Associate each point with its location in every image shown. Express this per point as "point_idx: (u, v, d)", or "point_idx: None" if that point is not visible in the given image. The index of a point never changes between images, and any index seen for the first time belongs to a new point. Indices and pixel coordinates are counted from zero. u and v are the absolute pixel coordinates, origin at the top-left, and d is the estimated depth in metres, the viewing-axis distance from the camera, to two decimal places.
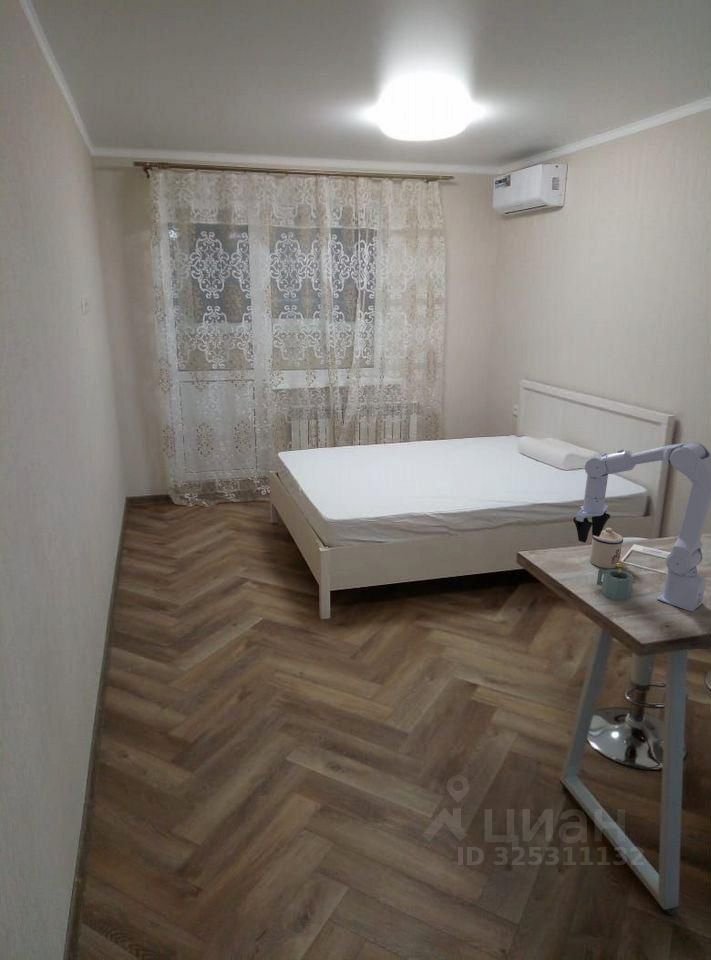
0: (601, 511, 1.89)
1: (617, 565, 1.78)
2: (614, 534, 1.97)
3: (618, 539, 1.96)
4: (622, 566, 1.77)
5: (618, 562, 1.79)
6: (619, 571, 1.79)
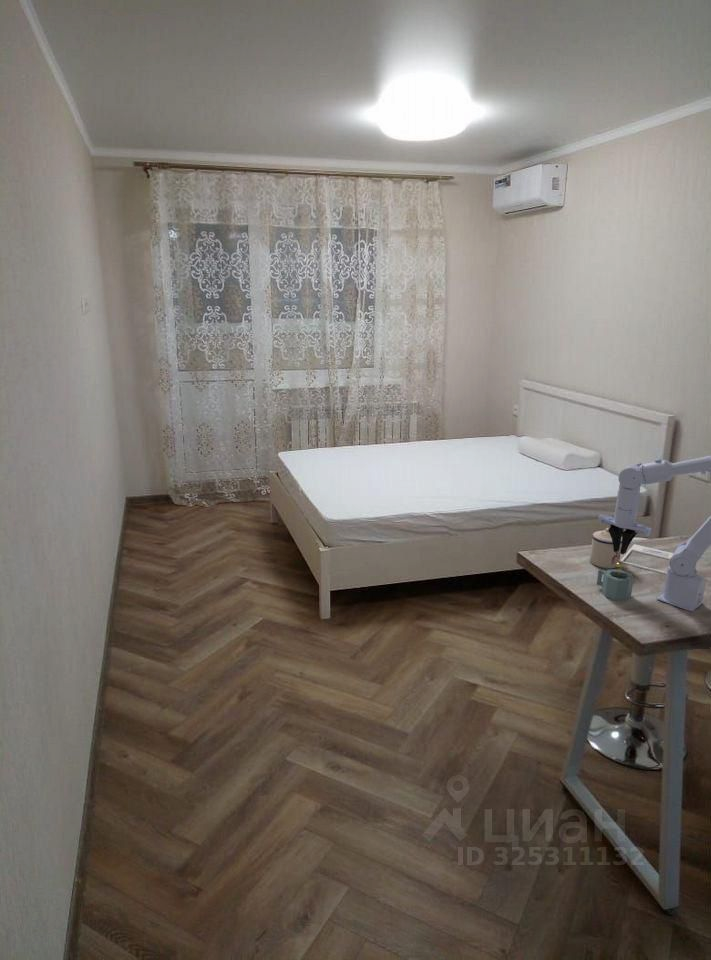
0: (619, 522, 1.79)
1: (617, 565, 1.78)
2: None
3: None
4: (622, 566, 1.77)
5: (618, 562, 1.79)
6: (619, 571, 1.79)
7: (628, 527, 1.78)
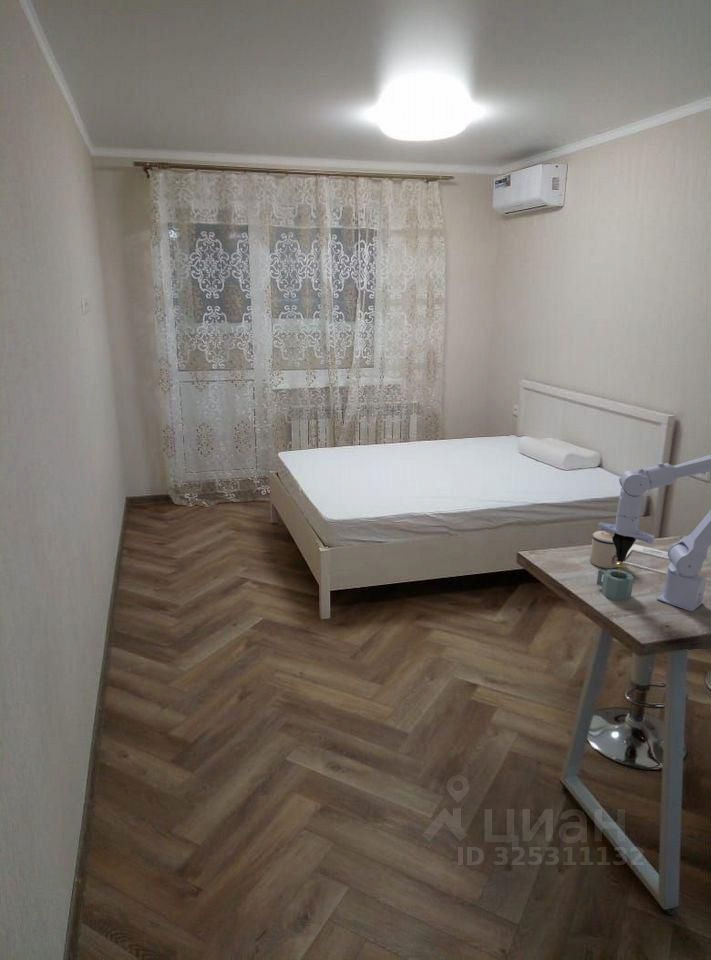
0: (621, 530, 1.73)
1: (617, 565, 1.78)
2: None
3: None
4: (622, 566, 1.77)
5: (618, 562, 1.79)
6: (619, 571, 1.79)
7: (631, 535, 1.72)
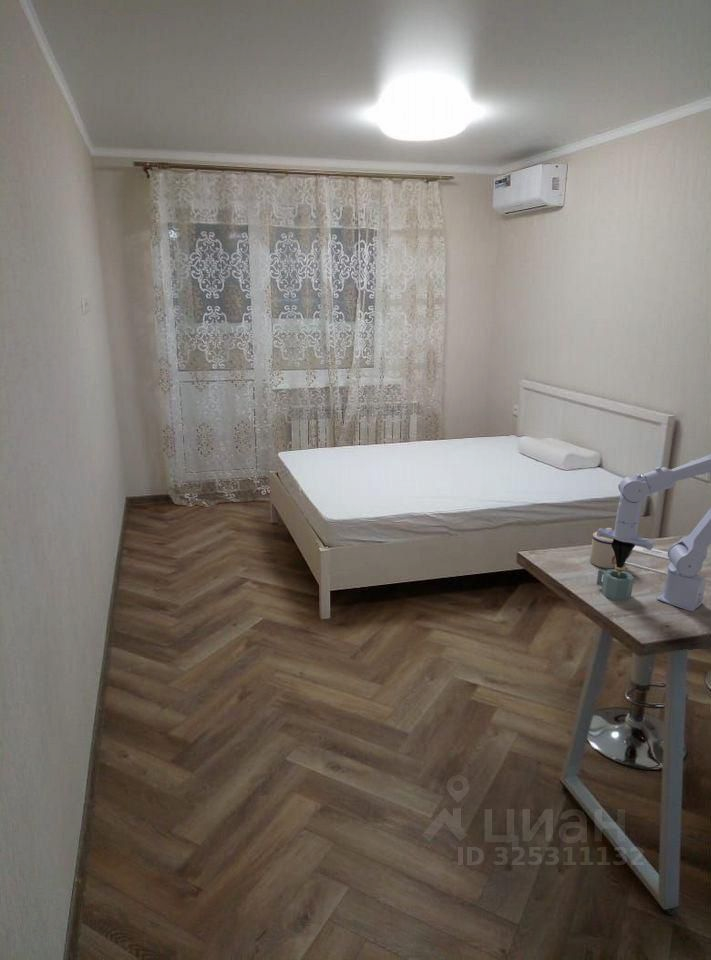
0: (620, 536, 1.74)
1: (617, 568, 1.78)
2: None
3: None
4: (622, 569, 1.77)
5: None
6: (619, 574, 1.79)
7: (630, 541, 1.73)
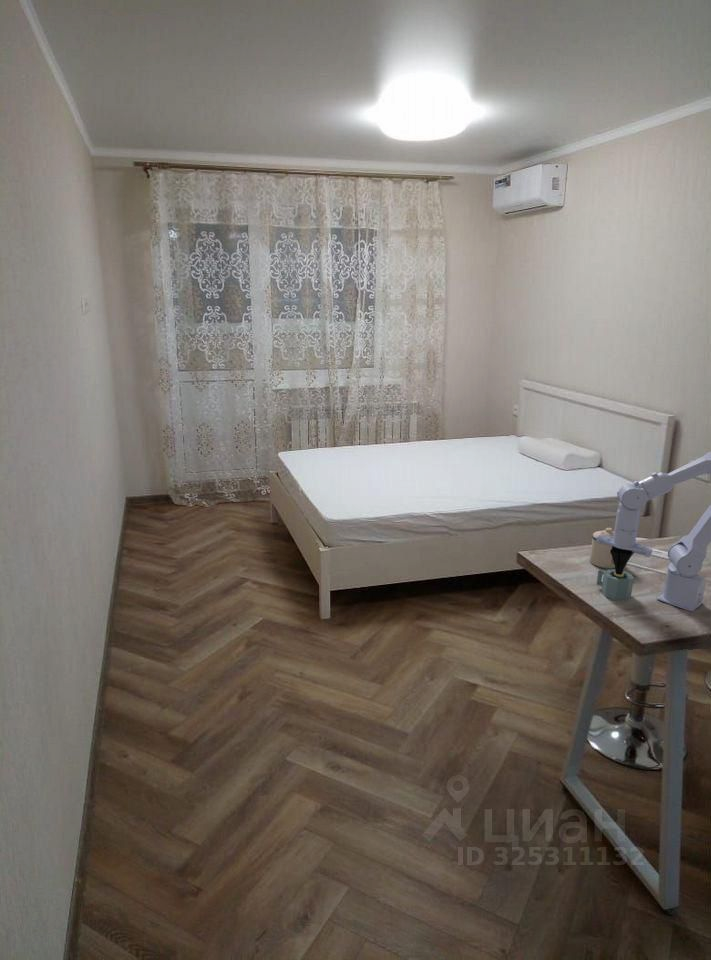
0: (619, 544, 1.74)
1: (615, 575, 1.78)
2: None
3: None
4: (620, 576, 1.78)
5: None
6: None
7: (629, 548, 1.73)
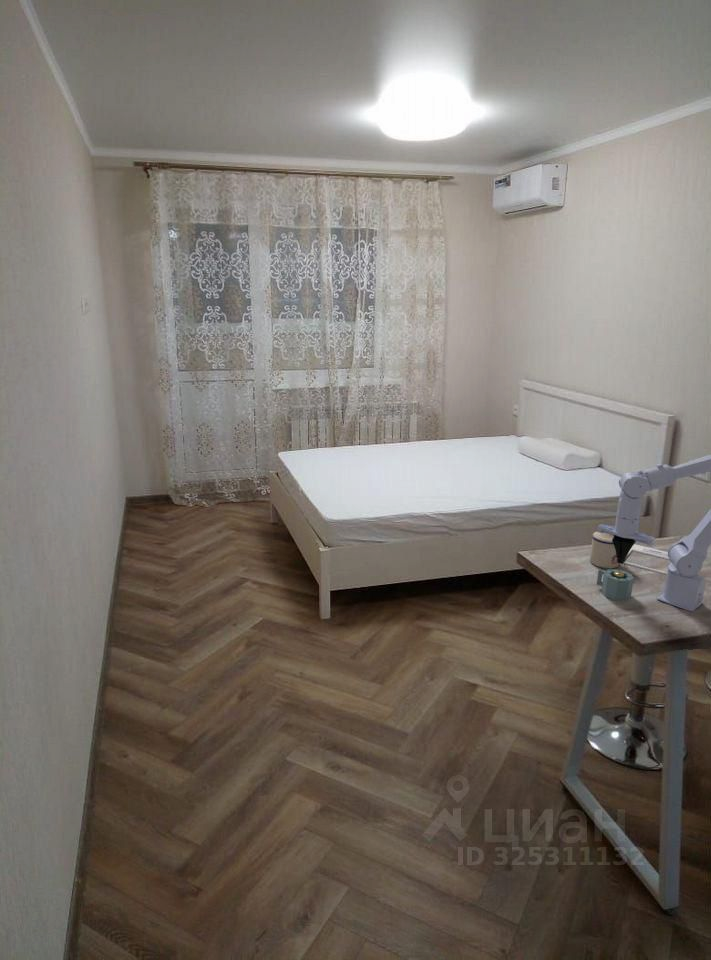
0: (621, 532, 1.73)
1: (615, 575, 1.78)
2: None
3: None
4: (620, 576, 1.78)
5: (616, 572, 1.79)
6: None
7: (631, 537, 1.72)
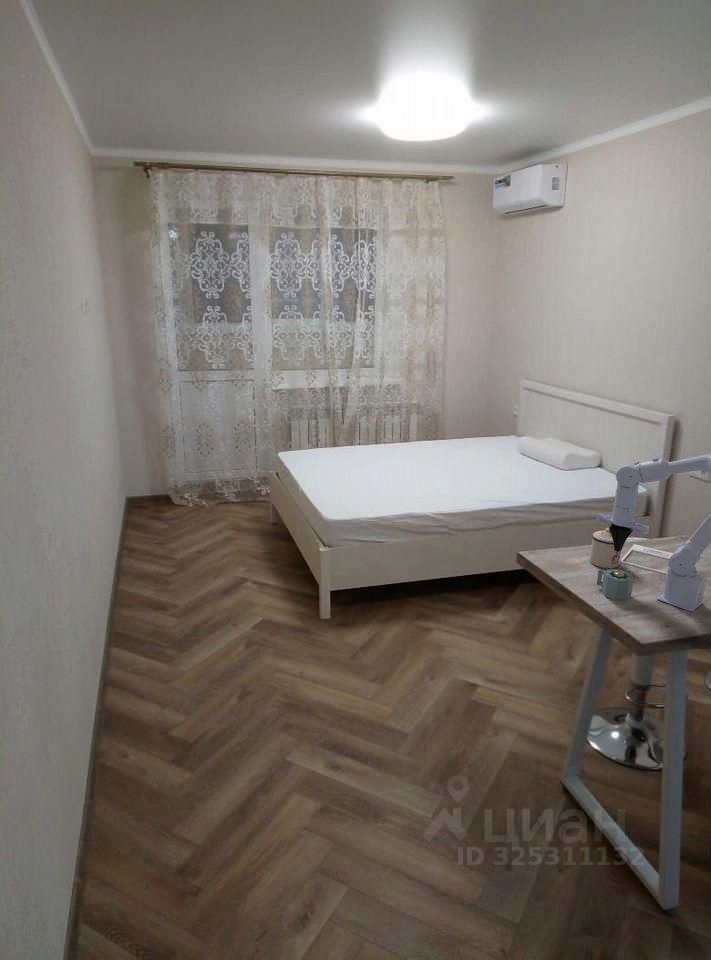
0: (617, 521, 1.80)
1: (615, 575, 1.78)
2: None
3: None
4: (620, 576, 1.78)
5: (616, 572, 1.79)
6: None
7: (626, 525, 1.79)
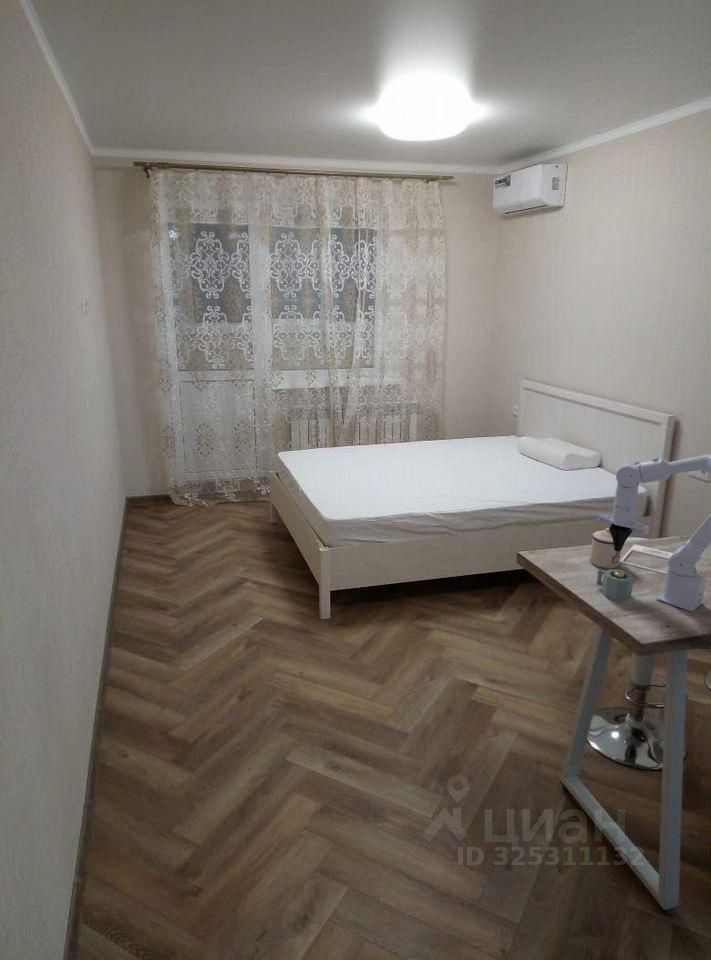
0: (617, 521, 1.80)
1: (615, 575, 1.78)
2: None
3: None
4: (620, 576, 1.78)
5: (616, 572, 1.79)
6: None
7: (626, 525, 1.79)
